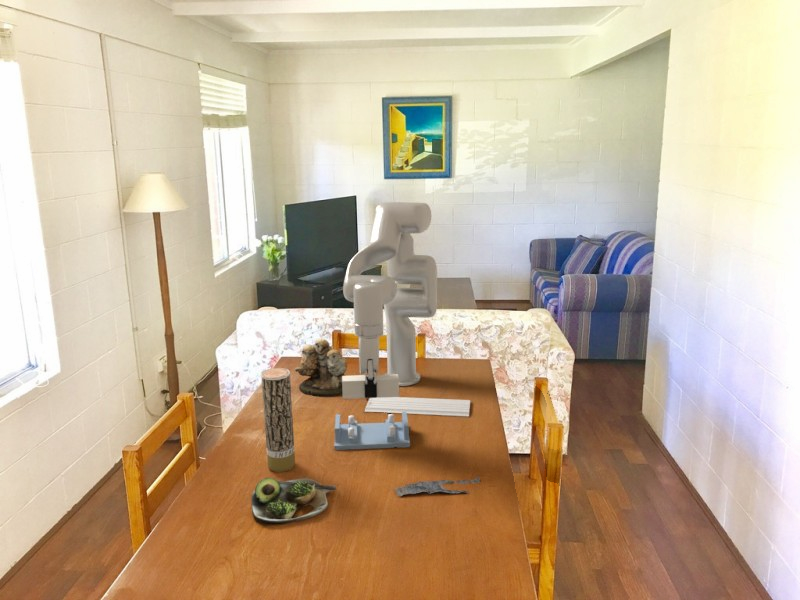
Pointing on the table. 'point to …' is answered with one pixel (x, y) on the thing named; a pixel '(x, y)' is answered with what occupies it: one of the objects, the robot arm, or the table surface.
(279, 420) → the paper tube
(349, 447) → the rack
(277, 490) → the salad plate
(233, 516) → the table surface
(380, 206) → the robot arm
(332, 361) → the owl figurine
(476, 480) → the driftwood
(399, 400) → the grooved white panel
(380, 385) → the clay bar
